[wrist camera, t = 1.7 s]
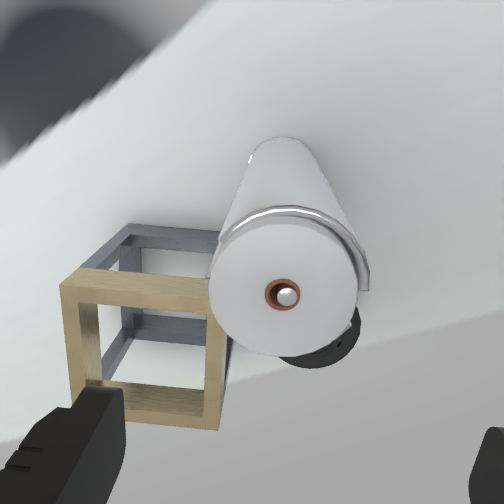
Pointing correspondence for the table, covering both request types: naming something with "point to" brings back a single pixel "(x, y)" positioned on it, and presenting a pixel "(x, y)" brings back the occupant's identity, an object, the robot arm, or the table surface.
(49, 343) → the table surface
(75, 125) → the table surface
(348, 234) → the silver metal cylinder
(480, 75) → the table surface
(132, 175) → the table surface
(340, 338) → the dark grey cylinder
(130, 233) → the collar stand
